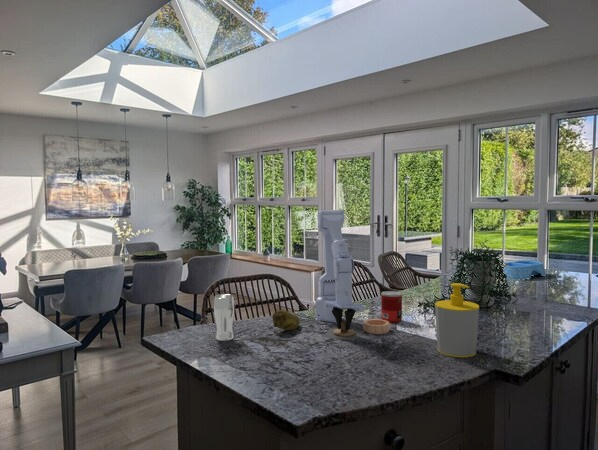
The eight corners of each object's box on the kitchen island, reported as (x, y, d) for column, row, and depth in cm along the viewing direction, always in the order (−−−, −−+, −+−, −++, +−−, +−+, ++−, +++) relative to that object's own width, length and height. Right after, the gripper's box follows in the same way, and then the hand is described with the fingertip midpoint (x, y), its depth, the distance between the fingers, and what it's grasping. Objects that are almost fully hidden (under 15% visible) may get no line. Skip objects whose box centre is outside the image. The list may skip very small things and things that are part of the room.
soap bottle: (474, 361, 126) (475, 289, 125) (429, 353, 133) (430, 285, 132) (482, 348, 137) (482, 282, 136) (440, 341, 144) (440, 278, 143)
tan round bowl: (360, 332, 155) (360, 324, 155) (368, 326, 163) (368, 317, 163) (385, 336, 151) (384, 327, 151) (392, 329, 159) (392, 320, 159)
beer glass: (238, 336, 153) (237, 294, 152) (228, 342, 147) (227, 298, 146) (220, 334, 155) (219, 293, 155) (210, 340, 149) (209, 297, 148)
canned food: (402, 323, 166) (402, 295, 165) (381, 322, 168) (381, 294, 167) (401, 318, 174) (401, 291, 173) (381, 317, 175) (381, 290, 175)
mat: (321, 337, 151) (321, 335, 151) (335, 328, 161) (335, 326, 161) (353, 341, 145) (353, 340, 145) (365, 332, 156) (365, 331, 156)
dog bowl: (520, 282, 248) (520, 267, 247) (490, 277, 264) (490, 263, 264) (552, 276, 265) (552, 262, 265) (523, 272, 281) (523, 259, 281)
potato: (307, 329, 160) (307, 308, 160) (279, 336, 153) (279, 313, 152) (294, 324, 167) (294, 304, 167) (266, 330, 159) (266, 309, 159)
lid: (330, 335, 152) (329, 322, 151) (338, 329, 158) (337, 317, 158) (350, 337, 148) (350, 325, 148) (357, 331, 155) (357, 319, 155)
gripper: (320, 291, 152) (320, 329, 153) (359, 295, 146) (359, 334, 146) (328, 287, 159) (328, 324, 159) (366, 291, 152) (366, 329, 152)
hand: (344, 329), depth 153 cm, fingers closed on lid, 2 cm apart
